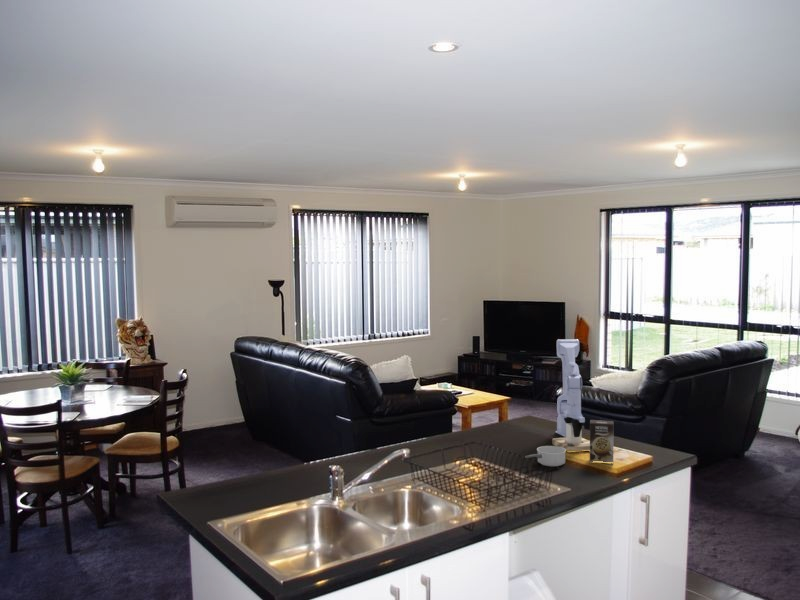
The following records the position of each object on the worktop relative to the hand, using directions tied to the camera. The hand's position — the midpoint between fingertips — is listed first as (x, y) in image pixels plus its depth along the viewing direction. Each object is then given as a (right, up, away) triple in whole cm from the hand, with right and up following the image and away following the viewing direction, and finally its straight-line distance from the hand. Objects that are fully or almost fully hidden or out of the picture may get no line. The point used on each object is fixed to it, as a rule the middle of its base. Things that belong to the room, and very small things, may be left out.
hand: (574, 435), depth 288 cm
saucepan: (-18, -7, -24) cm, 31 cm away
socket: (0, -5, 0) cm, 5 cm away
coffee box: (+5, -6, -21) cm, 23 cm away
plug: (0, -3, 0) cm, 3 cm away
